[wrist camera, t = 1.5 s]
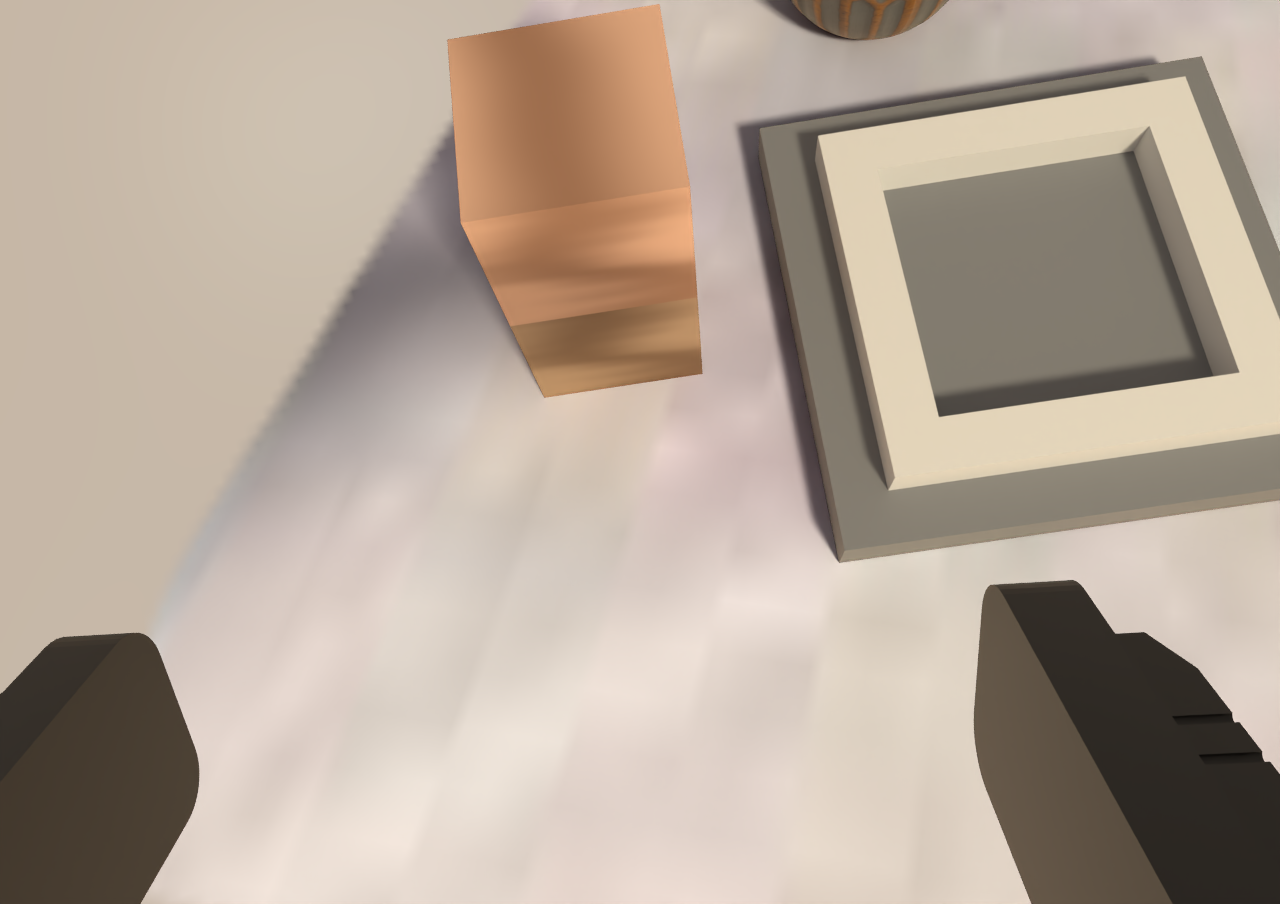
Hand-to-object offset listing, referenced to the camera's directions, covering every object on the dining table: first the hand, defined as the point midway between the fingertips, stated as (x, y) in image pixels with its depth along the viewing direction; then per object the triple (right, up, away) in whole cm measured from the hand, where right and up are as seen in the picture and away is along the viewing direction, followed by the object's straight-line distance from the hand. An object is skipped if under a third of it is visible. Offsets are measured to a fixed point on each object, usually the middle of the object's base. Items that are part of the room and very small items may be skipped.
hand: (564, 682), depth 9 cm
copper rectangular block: (0, +7, +22) cm, 23 cm away
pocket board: (+12, +7, +20) cm, 25 cm away
